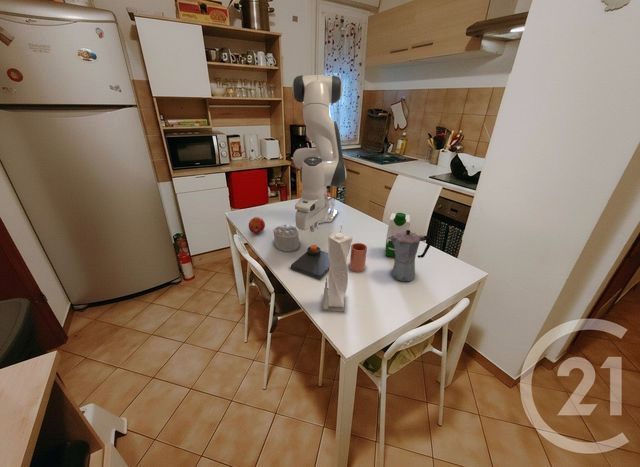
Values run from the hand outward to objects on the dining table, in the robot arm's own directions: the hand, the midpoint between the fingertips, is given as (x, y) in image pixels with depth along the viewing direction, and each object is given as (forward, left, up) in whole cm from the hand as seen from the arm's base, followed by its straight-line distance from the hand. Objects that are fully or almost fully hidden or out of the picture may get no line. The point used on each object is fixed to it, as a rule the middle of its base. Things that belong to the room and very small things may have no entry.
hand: (313, 230), depth 111 cm
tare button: (0, 0, -9) cm, 9 cm away
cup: (-2, +20, -13) cm, 24 cm away
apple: (-4, -37, -13) cm, 39 cm away
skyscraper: (+21, +22, -13) cm, 33 cm away
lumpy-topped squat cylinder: (-2, -16, -13) cm, 20 cm away
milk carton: (-21, +30, -13) cm, 39 cm away
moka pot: (-7, +38, -13) cm, 41 cm away
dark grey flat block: (+5, +4, -13) cm, 14 cm away
